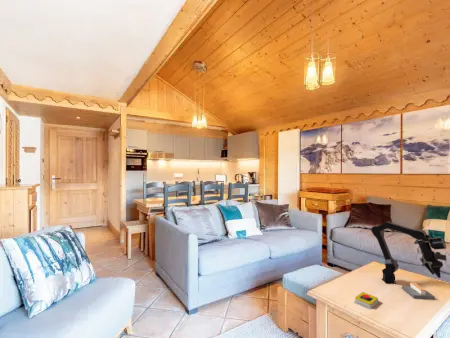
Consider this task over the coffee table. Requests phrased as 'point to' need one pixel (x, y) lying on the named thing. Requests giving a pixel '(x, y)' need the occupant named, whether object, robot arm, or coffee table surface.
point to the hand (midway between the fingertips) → (436, 276)
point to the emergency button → (366, 300)
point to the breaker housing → (416, 294)
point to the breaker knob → (417, 288)
